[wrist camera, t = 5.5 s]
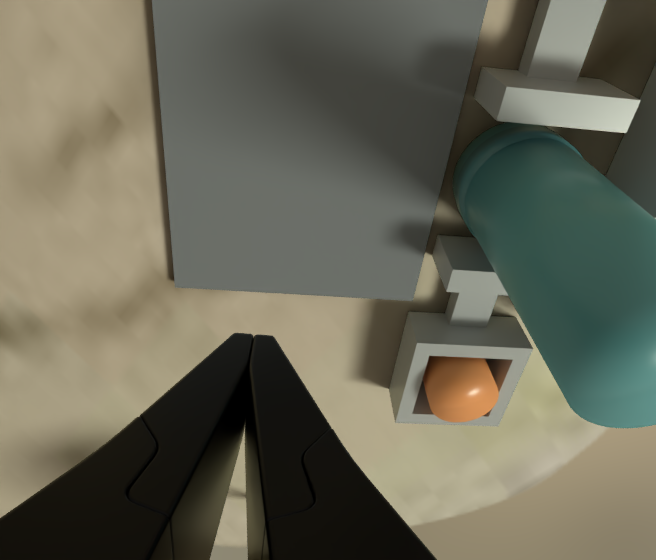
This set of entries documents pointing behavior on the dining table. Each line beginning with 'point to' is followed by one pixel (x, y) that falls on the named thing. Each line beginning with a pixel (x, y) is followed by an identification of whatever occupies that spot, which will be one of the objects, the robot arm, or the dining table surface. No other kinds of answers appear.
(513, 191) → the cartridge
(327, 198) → the mat
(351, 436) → the dining table surface
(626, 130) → the housing
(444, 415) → the plunger
